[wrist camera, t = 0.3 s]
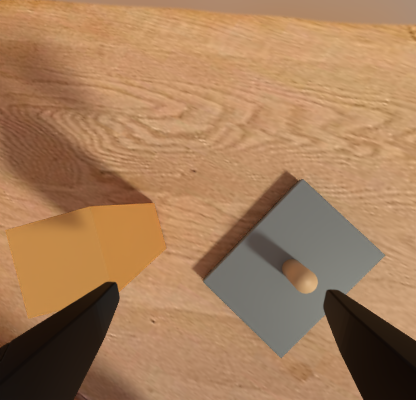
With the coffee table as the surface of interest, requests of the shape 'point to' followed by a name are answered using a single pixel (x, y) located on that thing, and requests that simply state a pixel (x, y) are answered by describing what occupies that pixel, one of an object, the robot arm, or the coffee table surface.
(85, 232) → the tall amber pillar
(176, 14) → the coffee table surface
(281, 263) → the post board
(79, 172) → the coffee table surface
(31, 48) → the coffee table surface
